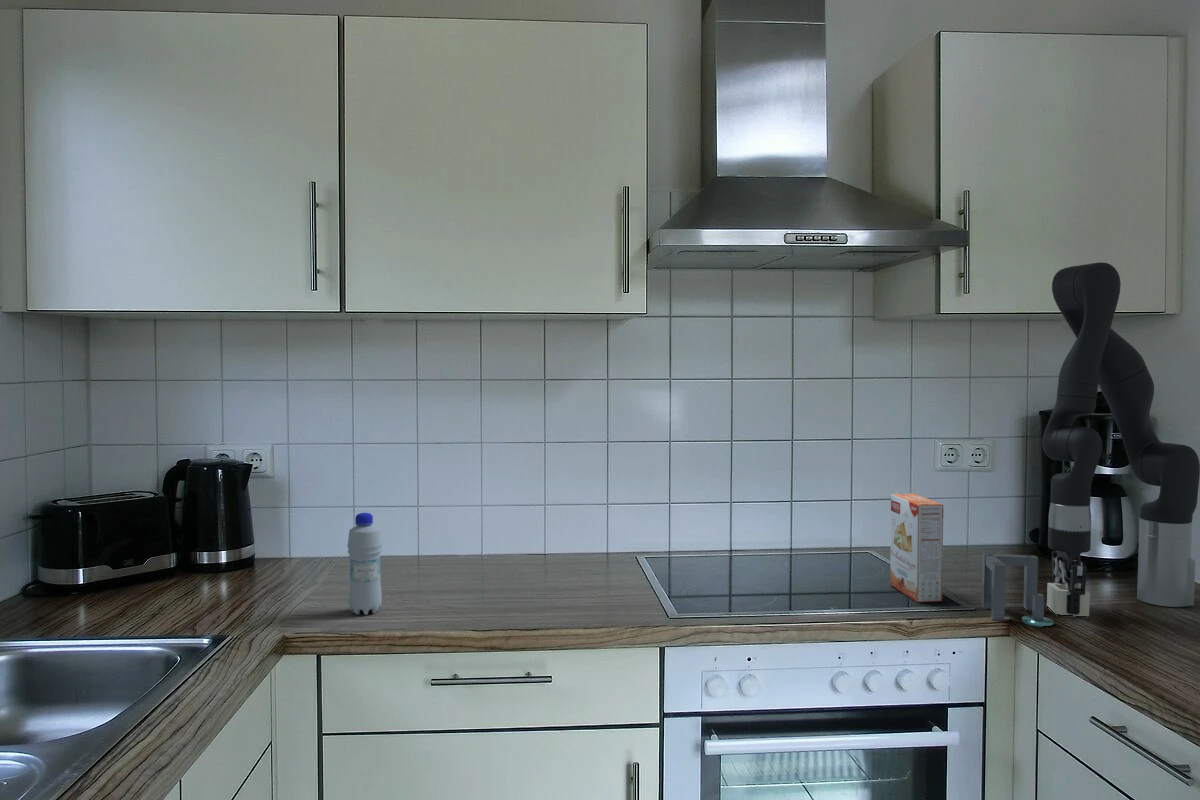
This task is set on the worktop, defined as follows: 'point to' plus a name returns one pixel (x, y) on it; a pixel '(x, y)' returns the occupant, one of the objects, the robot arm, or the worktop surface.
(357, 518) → the bottle
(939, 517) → the cracker box
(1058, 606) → the white square tube
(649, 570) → the worktop surface
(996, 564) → the rail
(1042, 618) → the peg
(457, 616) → the worktop surface
